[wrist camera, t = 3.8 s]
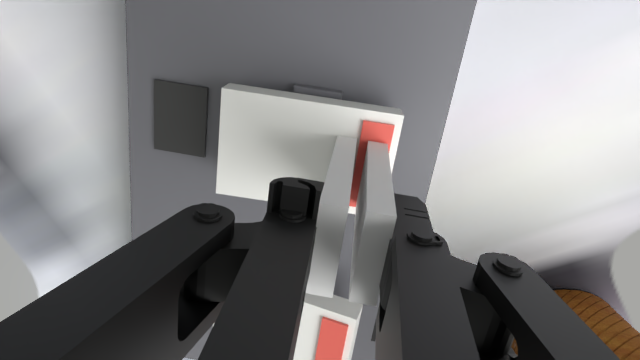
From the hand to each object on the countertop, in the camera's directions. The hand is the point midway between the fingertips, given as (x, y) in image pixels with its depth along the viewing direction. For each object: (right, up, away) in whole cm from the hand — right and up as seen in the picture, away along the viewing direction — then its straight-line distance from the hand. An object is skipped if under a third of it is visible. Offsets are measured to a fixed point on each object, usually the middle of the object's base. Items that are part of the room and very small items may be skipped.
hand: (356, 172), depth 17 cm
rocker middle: (-2, +1, +1) cm, 2 cm away
